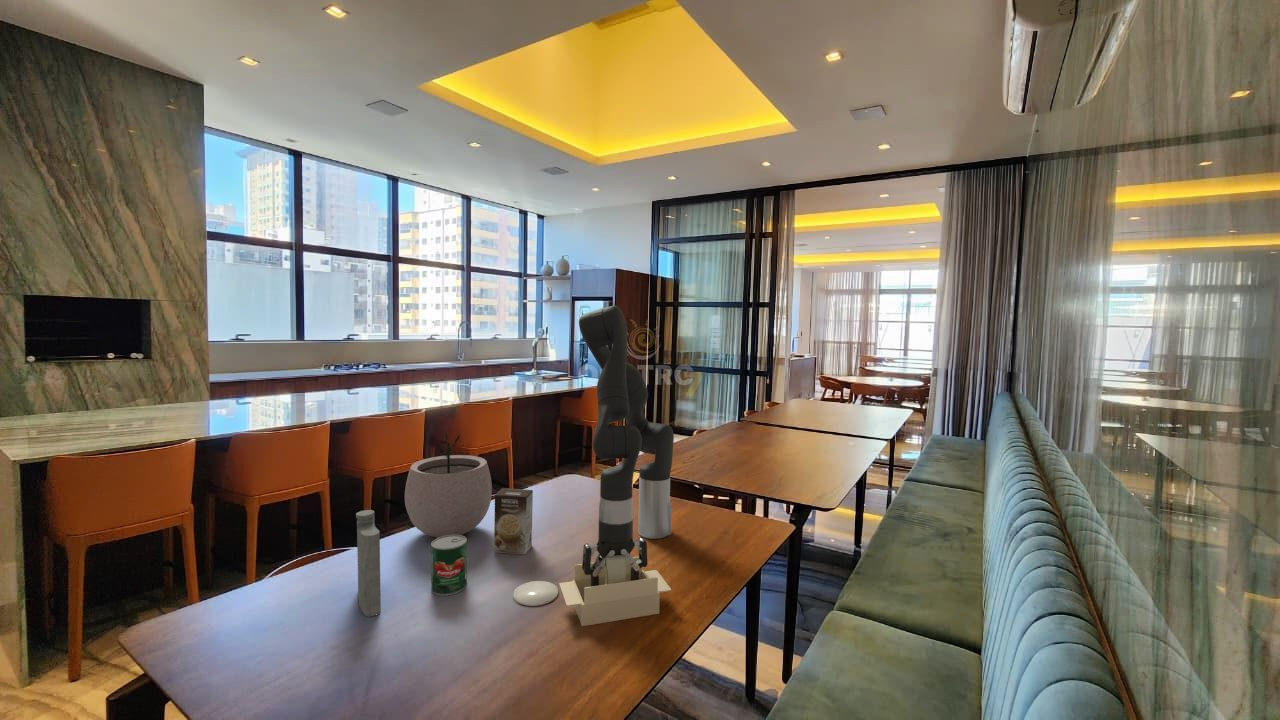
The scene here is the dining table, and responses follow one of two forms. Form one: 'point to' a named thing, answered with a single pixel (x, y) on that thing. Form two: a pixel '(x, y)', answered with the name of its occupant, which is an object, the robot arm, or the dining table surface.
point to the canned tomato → (448, 564)
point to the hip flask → (368, 563)
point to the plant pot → (448, 493)
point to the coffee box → (513, 521)
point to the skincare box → (615, 569)
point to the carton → (614, 595)
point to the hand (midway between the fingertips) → (614, 588)
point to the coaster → (535, 593)
